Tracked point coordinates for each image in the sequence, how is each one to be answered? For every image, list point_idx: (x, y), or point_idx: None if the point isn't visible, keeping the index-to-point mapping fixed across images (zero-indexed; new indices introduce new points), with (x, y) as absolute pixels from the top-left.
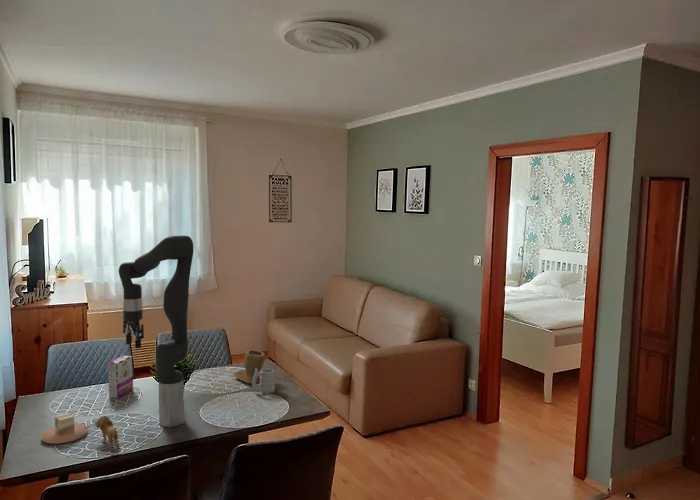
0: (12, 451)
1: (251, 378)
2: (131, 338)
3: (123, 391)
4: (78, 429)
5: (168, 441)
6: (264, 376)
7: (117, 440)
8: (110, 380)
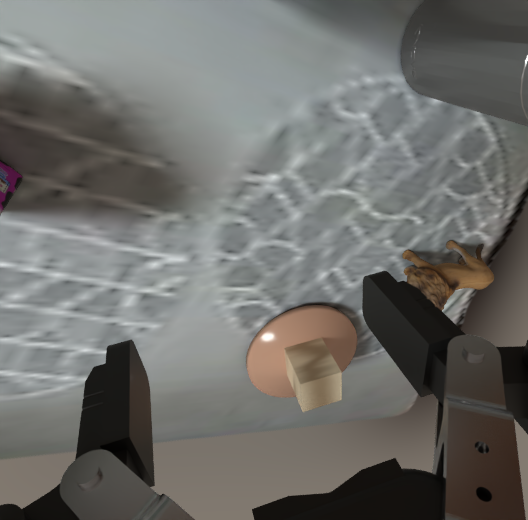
0: (306, 424)
1: None
2: (129, 396)
3: None
4: (313, 329)
5: None
6: None
7: (467, 253)
8: None
